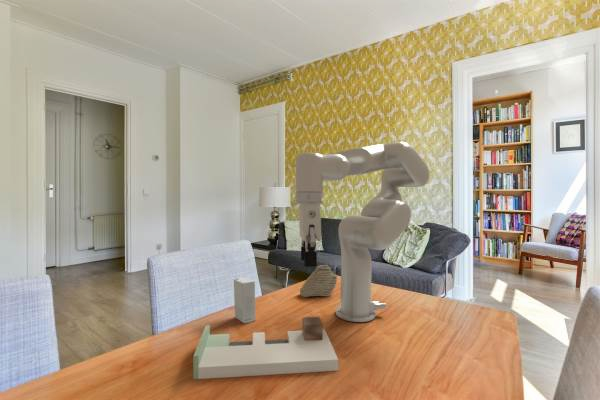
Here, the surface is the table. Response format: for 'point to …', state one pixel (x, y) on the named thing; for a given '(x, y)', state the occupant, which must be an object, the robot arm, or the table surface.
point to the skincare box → (244, 299)
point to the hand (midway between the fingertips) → (308, 262)
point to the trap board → (261, 355)
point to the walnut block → (312, 328)
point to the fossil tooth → (319, 282)
